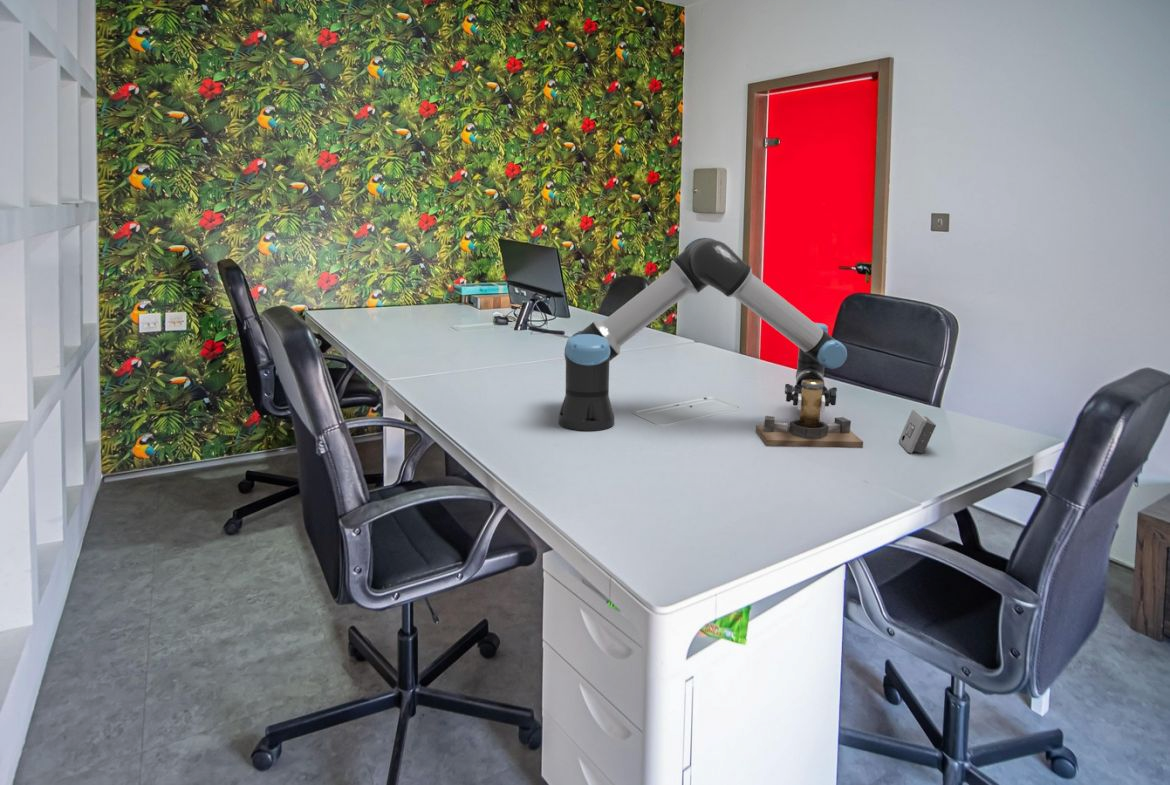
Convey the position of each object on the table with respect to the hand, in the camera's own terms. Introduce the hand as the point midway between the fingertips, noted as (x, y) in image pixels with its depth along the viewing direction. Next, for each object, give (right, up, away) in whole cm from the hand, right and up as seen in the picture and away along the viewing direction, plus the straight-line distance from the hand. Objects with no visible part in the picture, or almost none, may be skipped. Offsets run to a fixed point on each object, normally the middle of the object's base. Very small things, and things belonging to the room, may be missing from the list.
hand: (811, 405), depth 192 cm
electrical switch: (+26, -11, +1) cm, 28 cm away
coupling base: (+1, -9, +7) cm, 11 cm away
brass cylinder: (+1, -6, +7) cm, 9 cm away
